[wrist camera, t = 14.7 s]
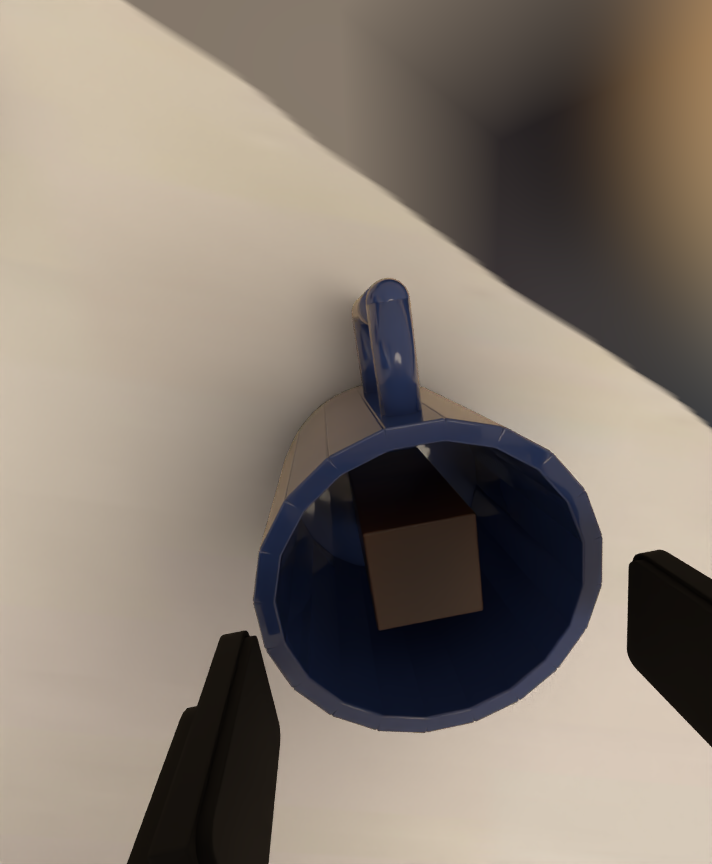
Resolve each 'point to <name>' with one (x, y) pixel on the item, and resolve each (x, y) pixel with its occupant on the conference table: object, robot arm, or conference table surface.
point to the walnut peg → (415, 541)
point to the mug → (497, 540)
